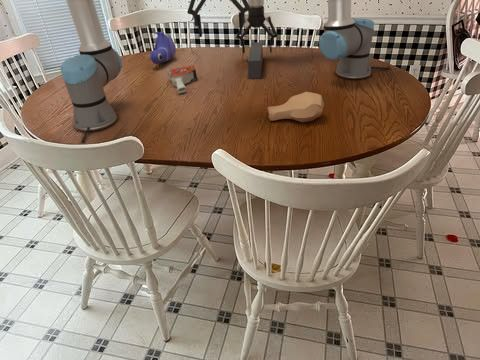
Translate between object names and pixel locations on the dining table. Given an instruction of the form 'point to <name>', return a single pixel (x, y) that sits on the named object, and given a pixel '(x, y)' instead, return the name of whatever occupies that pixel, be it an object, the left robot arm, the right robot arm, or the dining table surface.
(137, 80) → the dining table surface
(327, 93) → the dining table surface
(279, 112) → the squash
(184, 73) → the tape dispenser
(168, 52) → the toy
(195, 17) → the left robot arm
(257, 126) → the dining table surface
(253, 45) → the bar
